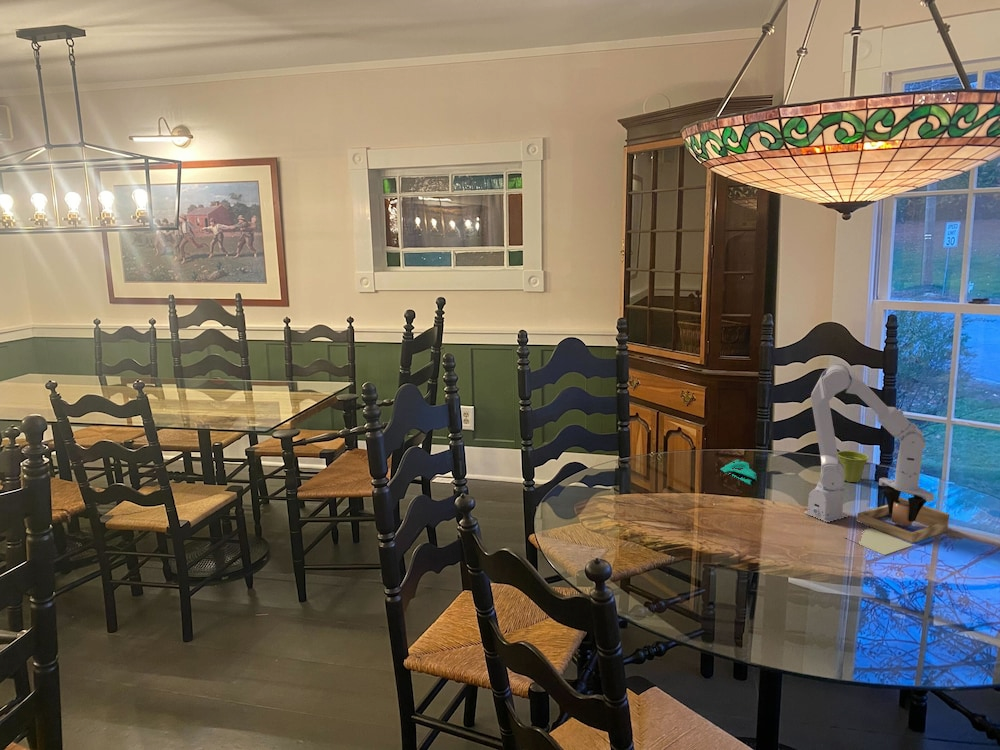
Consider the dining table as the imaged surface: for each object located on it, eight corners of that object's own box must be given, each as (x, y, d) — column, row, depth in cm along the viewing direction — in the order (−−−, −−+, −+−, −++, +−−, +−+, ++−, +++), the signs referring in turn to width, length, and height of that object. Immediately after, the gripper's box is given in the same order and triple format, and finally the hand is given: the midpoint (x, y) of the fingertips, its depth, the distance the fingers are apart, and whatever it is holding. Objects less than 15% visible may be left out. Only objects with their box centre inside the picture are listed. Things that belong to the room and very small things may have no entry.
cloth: (722, 459, 254) (723, 453, 254) (762, 464, 249) (763, 458, 249) (716, 483, 230) (717, 476, 230) (760, 488, 225) (761, 481, 225)
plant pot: (859, 475, 235) (861, 451, 233) (870, 485, 226) (873, 460, 224) (830, 474, 236) (832, 450, 234) (840, 484, 227) (843, 459, 225)
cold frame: (911, 543, 184) (914, 525, 183) (856, 521, 198) (858, 505, 197) (947, 531, 191) (949, 514, 190) (891, 511, 205) (893, 495, 204)
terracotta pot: (904, 527, 191) (907, 507, 190) (887, 520, 195) (889, 501, 194) (915, 523, 193) (918, 504, 192) (898, 517, 198) (900, 498, 196)
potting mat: (884, 555, 177) (884, 554, 177) (842, 537, 188) (842, 536, 187) (913, 545, 183) (913, 544, 183) (870, 528, 193) (870, 528, 193)
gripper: (943, 476, 187) (936, 523, 190) (891, 461, 199) (886, 505, 202) (927, 481, 184) (921, 528, 186) (876, 465, 196) (871, 510, 199)
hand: (902, 517), depth 194 cm, fingers closed on terracotta pot, 5 cm apart
